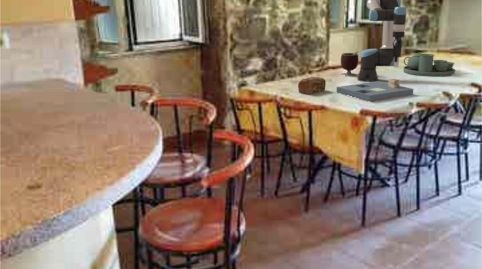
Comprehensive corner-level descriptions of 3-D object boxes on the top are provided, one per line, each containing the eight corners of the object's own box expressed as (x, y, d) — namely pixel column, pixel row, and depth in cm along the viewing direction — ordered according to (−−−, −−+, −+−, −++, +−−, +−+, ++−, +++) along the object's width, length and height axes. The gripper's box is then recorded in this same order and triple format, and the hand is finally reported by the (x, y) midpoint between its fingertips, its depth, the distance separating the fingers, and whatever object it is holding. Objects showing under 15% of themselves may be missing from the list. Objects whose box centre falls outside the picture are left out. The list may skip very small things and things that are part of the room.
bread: (309, 95, 320) (309, 80, 317) (297, 92, 327) (297, 78, 324) (326, 90, 332) (326, 76, 329) (313, 88, 340) (314, 74, 337)
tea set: (462, 76, 376) (465, 55, 371) (412, 77, 376) (414, 56, 371) (442, 68, 414) (444, 49, 409) (396, 69, 414) (398, 50, 409)
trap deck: (378, 86, 342) (378, 81, 340) (412, 94, 315) (413, 88, 313) (336, 92, 324) (336, 86, 323) (369, 101, 298) (369, 95, 296)
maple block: (393, 85, 324) (394, 78, 322) (399, 87, 320) (399, 79, 318) (388, 86, 322) (388, 79, 320) (393, 87, 317) (394, 80, 316)
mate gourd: (336, 75, 389) (337, 50, 384) (347, 73, 397) (349, 48, 392) (351, 77, 378) (352, 52, 372) (362, 75, 386) (364, 50, 380)
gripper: (396, 30, 321) (393, 65, 328) (389, 31, 311) (387, 67, 318) (407, 30, 317) (404, 66, 324) (401, 31, 307) (398, 68, 314)
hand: (395, 66), depth 321 cm, fingers closed
